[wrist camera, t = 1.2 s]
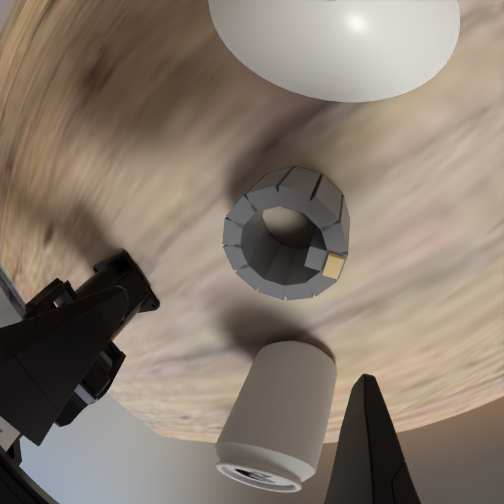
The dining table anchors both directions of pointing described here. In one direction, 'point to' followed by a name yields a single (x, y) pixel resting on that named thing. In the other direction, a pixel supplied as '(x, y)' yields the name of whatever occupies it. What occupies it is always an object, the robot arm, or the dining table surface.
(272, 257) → the grey segmented ring
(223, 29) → the shaft hub
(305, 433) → the can
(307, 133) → the dining table surface
